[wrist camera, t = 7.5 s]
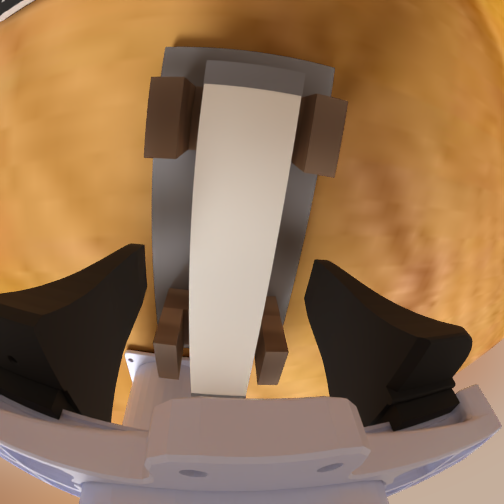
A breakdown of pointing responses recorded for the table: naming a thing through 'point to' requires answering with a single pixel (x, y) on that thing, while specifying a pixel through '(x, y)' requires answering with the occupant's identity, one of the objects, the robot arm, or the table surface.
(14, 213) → the table surface
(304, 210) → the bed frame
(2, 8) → the gaming console
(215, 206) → the rail
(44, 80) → the table surface
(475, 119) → the table surface
